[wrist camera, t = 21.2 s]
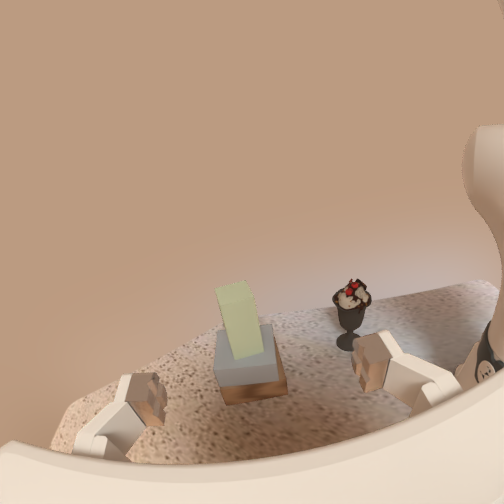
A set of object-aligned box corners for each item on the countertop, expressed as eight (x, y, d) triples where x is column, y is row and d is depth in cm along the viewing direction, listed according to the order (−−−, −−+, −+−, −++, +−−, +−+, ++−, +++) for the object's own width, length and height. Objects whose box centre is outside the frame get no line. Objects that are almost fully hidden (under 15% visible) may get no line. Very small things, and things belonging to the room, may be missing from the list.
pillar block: (256, 333, 45) (245, 280, 41) (264, 351, 41) (253, 296, 37) (228, 341, 44) (214, 288, 40) (234, 360, 40) (219, 305, 36)
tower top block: (274, 341, 48) (271, 323, 47) (279, 380, 40) (276, 363, 39) (222, 347, 49) (217, 330, 47) (219, 386, 41) (213, 370, 39)
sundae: (339, 359, 47) (342, 288, 41) (327, 335, 53) (326, 267, 47) (372, 348, 47) (380, 278, 41) (358, 326, 53) (361, 259, 47)
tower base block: (277, 354, 51) (274, 336, 50) (288, 395, 42) (286, 378, 41) (223, 364, 51) (218, 347, 49) (226, 406, 42) (220, 390, 40)
